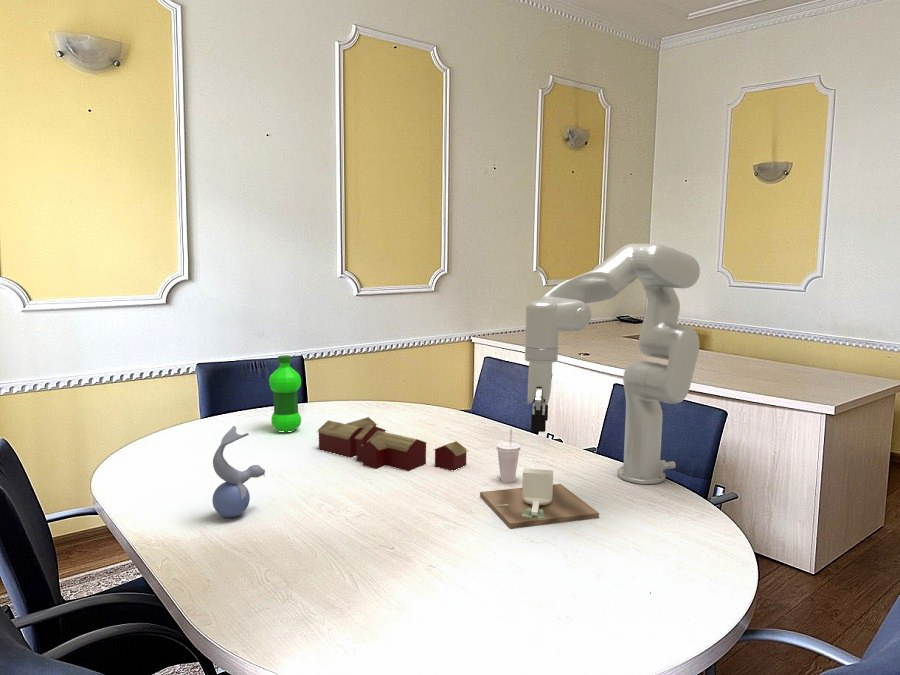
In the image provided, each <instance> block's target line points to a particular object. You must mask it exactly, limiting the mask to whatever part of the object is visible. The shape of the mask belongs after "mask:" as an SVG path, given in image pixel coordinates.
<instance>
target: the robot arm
mask: <svg viewBox="0 0 900 675" xmlns="http://www.w3.org/2000/svg"><path fill="white" fill-rule="evenodd" d="M700 274H701V267H700V265H699V262H698V261H697V259H696V258H695V257H694V256H692V255H690V254H688V253H686V252H682V251H680V250H677V249H675V248H673V247H670V246H666V245H663V244H661V243H660V244H659V243H638V242H637V243H636V242H635V243H628V244H625V245H623V246H622V247H621V248H619V249H618V250H617V251H615V252H614V253H613V254H611V255H610V256H608V257H607V258H606V259H605V260H604V261H602V262H601V263H600V264H599V265H597V266H596V267H595V268H594V269H592V270H590V271H587V272H584V273H582V274H579V275H577V276H575V277H573V278H570V279H567V280H565V281H563V282H561V283H559V284H557V285H555V286H554V287H553V288H552V289H550V290H549V291H548V292H547V293H545V294H544V295H543V296H542V297H541V298H540V299H539V300H533V301H532V300H531V301H529V302H528V303H527V305H526V307H525V338H524V339H525V343H524V344H525V345H524V346H525V347H524V351H525V354H524V360H525V361H526V362H529V364H528V376H527V378H528V379H527V398H526V399H527V400H526V401H527V402H526V403H527V404H528V405H531V404H532V413H531V426H530V427H531V429H530V430H531V432H536V433H537V432H539V433H540V432H541V433H545V432H546V427H547V426H546V424H547V421H548V420H549V402H550V397H551V393H552V392H551V391H552V381H553V380H552V379H553V378H552V377H553V363H556V362H558V356H559V354H558V353H559V332H563V331H564V332H580V331H582V330H584V329H586V327H588V325H589V324H590V322H591V319H592V311H591V309H590V307H589V306H588V304H591V303H592V304H593V303H600V302H604V301H607V300H611V299H613V298H614V299H615V297H617V296H618V295H619V294H620V293H621V292H623V291H624V290H625V289H626V288H627V287H628V286H630V284H632V283H633V282H635V281H636V280H637V279H638V280H639V281H640V283H641V285H642V287H643V289H644V291H645V294H646V295H645V296H646V301H647V302H646V308H645V314H644V316H643V320H642V326H641V329H640V334H639V338H638V349H639V351H640V353H642V354H643V355H644V356H647V357H652V358H654V359H661V360H665V361H667V364H663V363H658V362H652V361H647V360H637V361H634V362H631V363H629V365H627V366H626V368H625V370H624V372H623V388H624V395H625V424H624V426H625V427H624V445H623V446H624V447H623V449H624V450H623V466H620V467H619V468H618V469H617V471H616V474H617V477H619V478H620V479H622V480H623V481H627V482H630V483H634V484H640V485H641V484H643V485H656V484H660V483H663V482H664V481H665V480H666V473H665V472H664V471H666V470H672V469H676V462H675V461H674V460H673V461H672V460H671V461H666V460H665V459H661V453H662V452H661V451H662V434H663V433H662V432H663V417H664V416H663V410H662V406H661V403H666V404H673V405H674V404H675V405H676V404H679V403H681V402H683V401H684V400H685V399H686V398H687V396H688V393H689V391H690V389H691V385H692V381H693V376H694V373H695V368H696V365H697V364H696V363H697V360H698V356H699V352H700V338H699V335H698V333H697V332H696V330H695V329H694V328H693V327H691V326H689V325H683V324H678V320H679V315H680V311H681V305H680V299H679V297H678V294H677V293H676V290H675V289H681V290H682V289H689V288H691V287H693V286H694V285H696V283H697V282H698V280H699V278H700ZM660 402H661V403H660Z"/></svg>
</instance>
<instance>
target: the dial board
mask: <svg viewBox="0 0 900 675" xmlns="http://www.w3.org/2000/svg"><path fill="white" fill-rule="evenodd" d="M479 497H480V498H481V500H483V501H484V503H485V504H486V505H487V506H488V507H489V508H490V509H491V510H492V512H493V513H495V514H496V515H497V517H498V518H500V520H501V521H502V522H504V524H505V525H506V526H507V527H508V528H509V529H510V530H511V529H519V527H520V528H526V527H534V526H543V525H551V524H559V523H560V522H561V523H567V522H575V521H576V520H577V521H582V520H583V521H585V519H586V520H593V519H598V518H600V512H598V511H597V510H596V509H594V508H593V507H592V506H591V505H589V504H588V503H587V502H585V501H584V500H583V499H581V498H580V497H579V496H577V495H576V494H575V493H574V492H572V491H571V490H570V489H568V487H566V486H565V485H563V484H562V483H553V495H552V502H551V503H550V504H547V505H539V509H538V515H537V516H535V515H531V510H532V506H533V505H532V504H528V503H526V502H524V501H523V497H522V487H517V488H516V487H514V488H505V489H496V490H487V491H485V490H484V491H479ZM592 518H593V519H592ZM561 523H560V524H561Z"/></svg>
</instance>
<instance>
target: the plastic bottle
mask: <svg viewBox="0 0 900 675" xmlns="http://www.w3.org/2000/svg"><path fill="white" fill-rule="evenodd" d="M277 362H278V364H279V367H278V368H276V369H275V370H274V371H273V372H272V373H271V374H270V375H269V379H268V384H269V387H270V390H271V391H272V393H273V413H272V415H271V425H272V427H273V428H274V429H275V430H276V431H277V430H278V431H277V432H279V431H284V432H288V431H293V430H295V429H296V430H297V429H298V428H299V427H300V426H301V423H302V416H301V414H300V412H299V398H298V396H299V395H298V391H299V390H300V388H301V386H302V378H301V375H300V374H299V372H297V371H296V370H295V369H293V367H291V365H290V363H291V362H292V356H291V355H286V354H285V355H278V356H277ZM296 430H295V431H296Z"/></svg>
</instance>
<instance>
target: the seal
mask: <svg viewBox="0 0 900 675" xmlns="http://www.w3.org/2000/svg"><path fill="white" fill-rule="evenodd" d="M247 436H249V432H246V433H243V434H239V433H237V426H235V425H233V426H232V427H231V428H230V429H229V430H228V431H227V432H226V433H225V435H224V436H223V437H222V439H221V441H220V442H221V443H220V445H219V446H218V447H217V449H216V451H215V453H214V455H213V458H212V467H213V470H214V472H215V474H216V475H217V476H218V477H219V479H221V480H223V481H224V482H222V483H221V484H219V486H217V488H215V490H214V492H213V494H212V505H213V508H214V510H215V511H216V512H217V513H218V514H219V515H220V516H222V517H226V518H235V517H238V516H240V515H242V514H243V513H244V512H245V511H246V510H247V508H248V506H249V504H250V500H251V497H250V492H249V489H248V487H247V486H246V485H245V484H244V483H247V481H248V480H250V479H251V478H253V479H254V478H255V479H256V478H259V477H260V478H261V477H262V476H263V477H266V470H265V469H264V468H263V467H262V466H260V465H259V464H253V465H250V466H248V468H246V469H245V470H243V471H242V470H239V469H237V468H235V467H234V466H232V465H230V464H229V463H228V462H227V460H226V458H225V457H224V450H225V447H226V446H228V445H230V444H231V443H234V442H236V441H238V440H240V439H242V438H244V437H247Z"/></svg>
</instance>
